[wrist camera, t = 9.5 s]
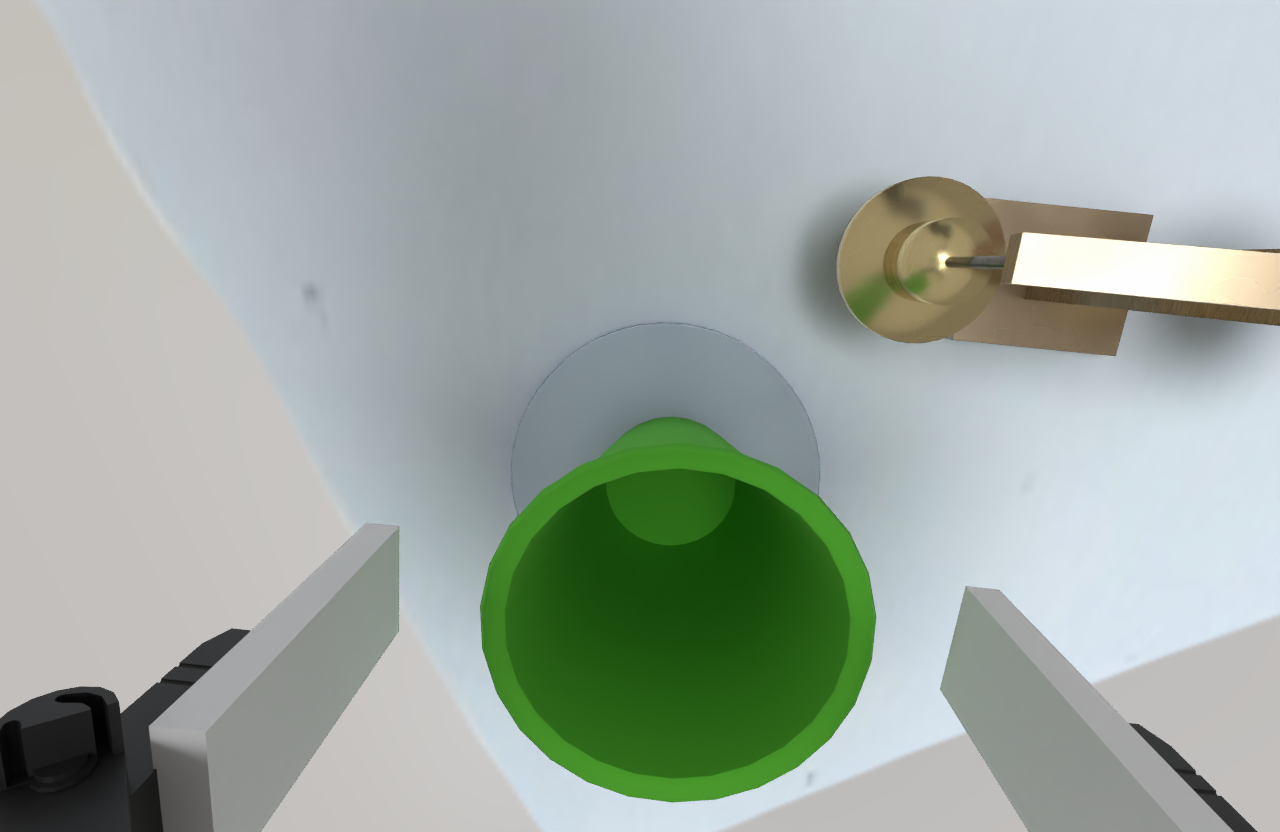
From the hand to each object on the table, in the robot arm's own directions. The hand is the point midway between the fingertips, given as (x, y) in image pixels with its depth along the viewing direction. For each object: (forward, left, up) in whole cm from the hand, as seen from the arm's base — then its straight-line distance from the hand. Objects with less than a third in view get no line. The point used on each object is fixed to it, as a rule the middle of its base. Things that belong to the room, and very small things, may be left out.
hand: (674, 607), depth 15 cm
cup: (0, 0, -11) cm, 11 cm away
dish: (0, 0, -12) cm, 12 cm away
